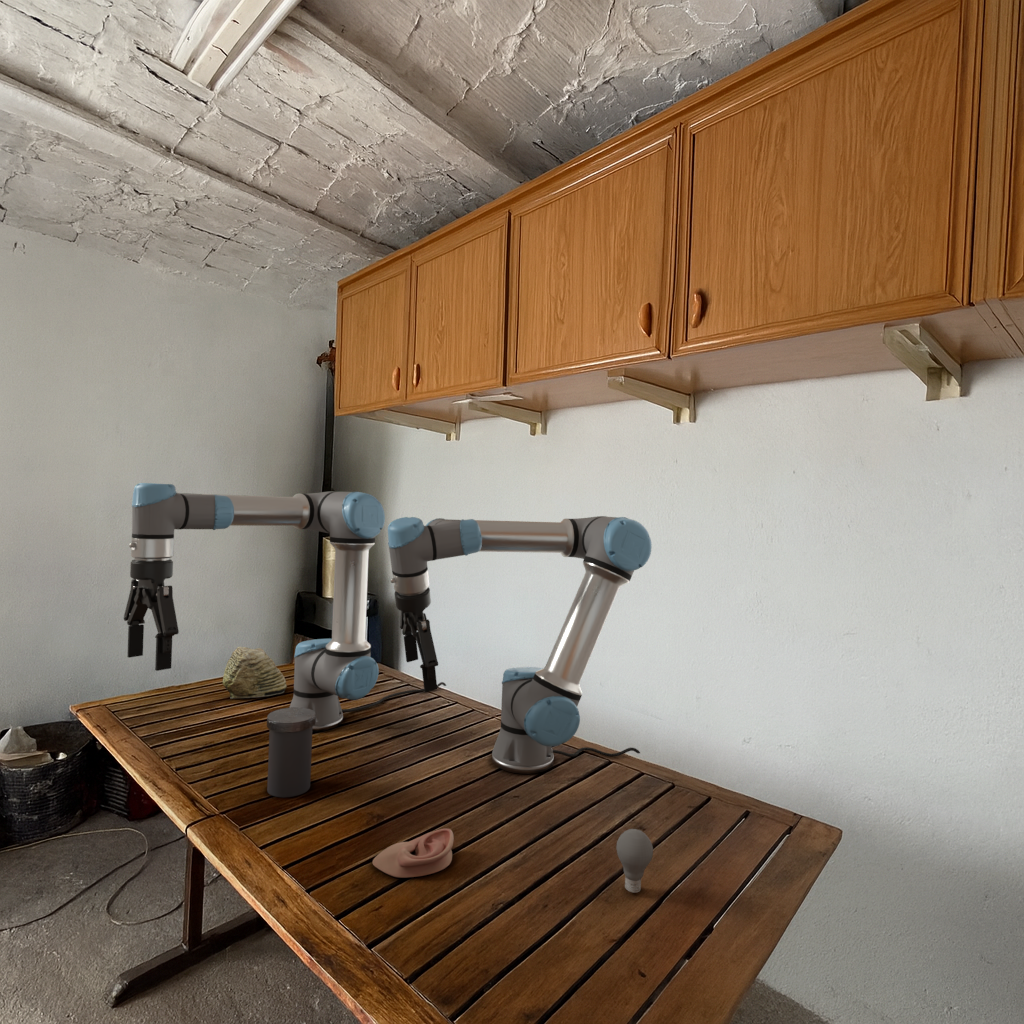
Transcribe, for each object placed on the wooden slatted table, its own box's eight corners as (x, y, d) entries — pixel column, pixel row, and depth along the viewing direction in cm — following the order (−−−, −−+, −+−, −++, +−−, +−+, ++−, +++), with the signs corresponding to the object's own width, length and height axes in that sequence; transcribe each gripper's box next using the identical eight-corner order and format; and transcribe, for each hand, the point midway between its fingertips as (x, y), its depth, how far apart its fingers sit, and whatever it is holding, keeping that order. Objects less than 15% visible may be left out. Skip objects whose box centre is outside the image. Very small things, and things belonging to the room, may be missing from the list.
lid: (319, 729, 135) (319, 719, 135) (269, 735, 130) (270, 725, 130) (310, 714, 144) (311, 705, 144) (264, 719, 139) (264, 710, 139)
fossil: (218, 695, 195) (220, 647, 195) (278, 685, 208) (279, 640, 207) (228, 703, 189) (230, 653, 188) (289, 692, 201) (290, 645, 201)
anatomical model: (365, 849, 107) (391, 816, 119) (364, 872, 107) (390, 837, 119) (440, 861, 105) (459, 827, 116) (439, 885, 105) (459, 848, 116)
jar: (313, 793, 135) (316, 721, 135) (269, 800, 131) (272, 726, 131) (306, 776, 143) (309, 708, 143) (264, 782, 139) (267, 712, 139)
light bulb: (610, 879, 108) (613, 822, 108) (644, 879, 109) (647, 822, 109) (619, 902, 102) (622, 840, 102) (655, 901, 103) (658, 840, 103)
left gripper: (108, 554, 134) (104, 654, 134) (159, 565, 118) (155, 678, 119) (146, 552, 140) (143, 648, 140) (199, 563, 124) (195, 671, 124)
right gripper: (380, 572, 145) (390, 653, 152) (412, 617, 124) (422, 709, 130) (411, 565, 148) (420, 645, 155) (448, 608, 127) (456, 698, 133)
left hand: (148, 662), depth 129 cm, fingers open, 13 cm apart
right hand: (421, 674), depth 143 cm, fingers open, 13 cm apart
